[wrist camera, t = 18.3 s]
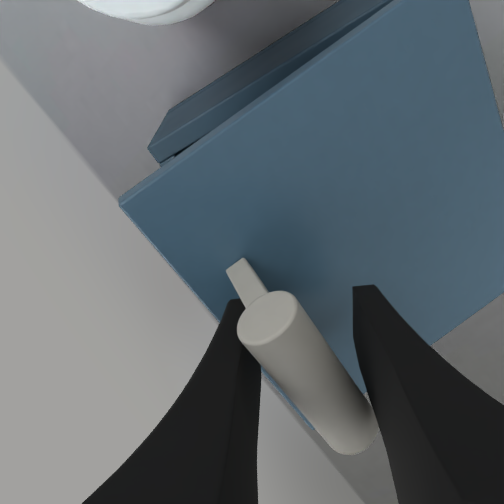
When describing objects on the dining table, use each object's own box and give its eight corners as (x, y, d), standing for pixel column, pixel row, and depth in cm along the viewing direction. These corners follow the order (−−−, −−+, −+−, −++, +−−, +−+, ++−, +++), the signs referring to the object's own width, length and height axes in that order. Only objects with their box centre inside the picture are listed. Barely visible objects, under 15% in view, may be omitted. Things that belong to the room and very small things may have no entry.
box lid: (306, 418, 17) (367, 531, 13) (117, 197, 12) (119, 271, 8) (525, 258, 17) (656, 320, 13) (441, -35, 12) (619, -89, 8)
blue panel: (290, 288, 24) (297, 348, 20) (167, 110, 18) (145, 148, 15) (479, 204, 21) (528, 256, 17) (399, -38, 15) (444, -38, 12)
